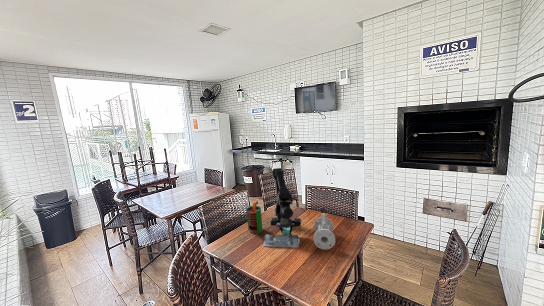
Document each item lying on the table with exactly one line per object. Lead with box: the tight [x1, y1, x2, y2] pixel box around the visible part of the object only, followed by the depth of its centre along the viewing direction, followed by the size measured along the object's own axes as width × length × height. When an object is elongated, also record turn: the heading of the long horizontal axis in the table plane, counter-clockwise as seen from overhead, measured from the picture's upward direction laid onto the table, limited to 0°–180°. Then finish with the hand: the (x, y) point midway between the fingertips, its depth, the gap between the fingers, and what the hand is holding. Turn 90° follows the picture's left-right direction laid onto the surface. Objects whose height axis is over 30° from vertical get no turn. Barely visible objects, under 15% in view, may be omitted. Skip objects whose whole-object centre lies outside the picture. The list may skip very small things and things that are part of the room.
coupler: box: [281, 227, 291, 236], centre depth 139 cm, size 4×8×4 cm, turn 169°
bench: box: [262, 234, 301, 249], centre depth 131 cm, size 8×21×5 cm, turn 79°
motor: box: [246, 200, 263, 235], centre depth 148 cm, size 10×9×20 cm
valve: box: [313, 208, 336, 251], centre depth 132 cm, size 22×12×15 cm, turn 168°
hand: (286, 234), depth 139 cm, fingers closed on coupler, 4 cm apart
